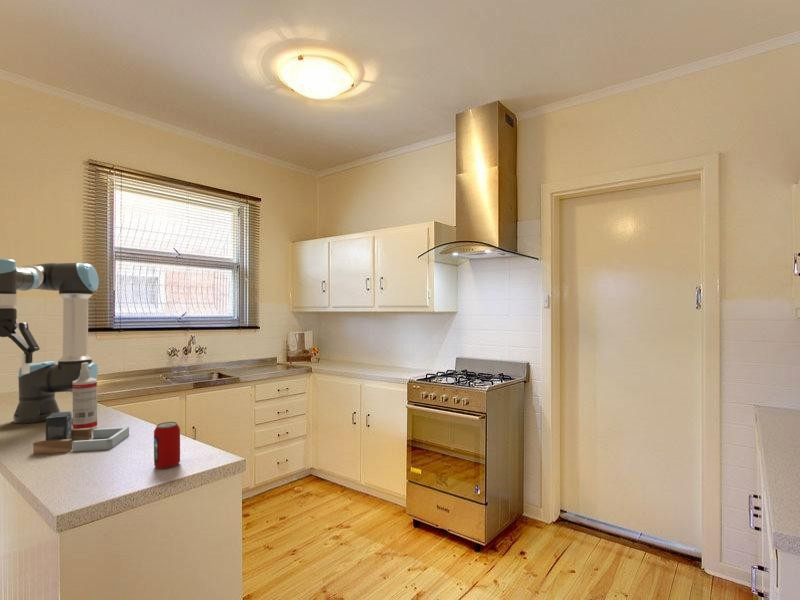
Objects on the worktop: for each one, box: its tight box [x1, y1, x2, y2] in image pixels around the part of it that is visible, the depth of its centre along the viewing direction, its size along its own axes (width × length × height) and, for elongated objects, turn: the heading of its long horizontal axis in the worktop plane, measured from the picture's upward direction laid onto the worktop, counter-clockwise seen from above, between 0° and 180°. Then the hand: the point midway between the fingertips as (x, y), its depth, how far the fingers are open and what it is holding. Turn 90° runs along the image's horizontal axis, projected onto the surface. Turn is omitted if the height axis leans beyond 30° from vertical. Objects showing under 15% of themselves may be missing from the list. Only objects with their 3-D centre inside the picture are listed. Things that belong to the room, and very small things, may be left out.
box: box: [45, 411, 73, 440], centre depth 149 cm, size 8×6×11 cm
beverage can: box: [153, 421, 181, 470], centre depth 130 cm, size 7×7×12 cm
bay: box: [72, 426, 130, 452], centre depth 151 cm, size 15×11×3 cm
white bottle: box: [72, 362, 98, 431], centre depth 169 cm, size 8×8×25 cm
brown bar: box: [32, 428, 93, 455], centre depth 149 cm, size 15×10×4 cm, turn 11°
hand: (1, 374), depth 141 cm, fingers open, 13 cm apart
